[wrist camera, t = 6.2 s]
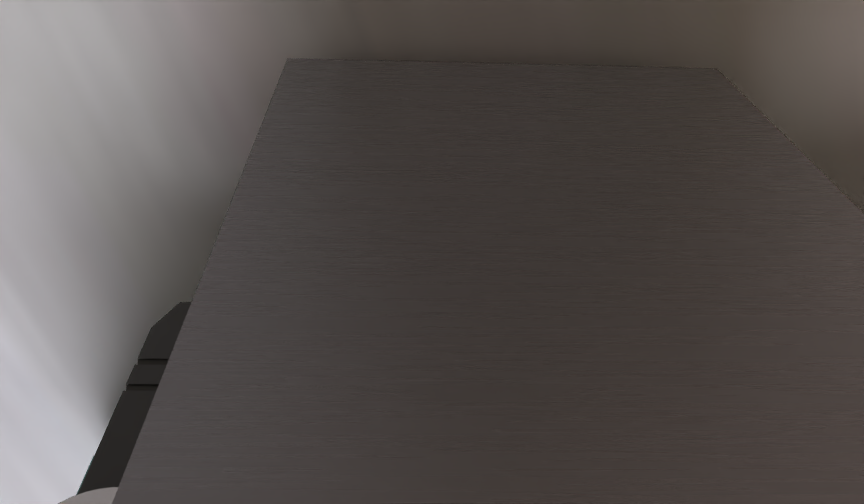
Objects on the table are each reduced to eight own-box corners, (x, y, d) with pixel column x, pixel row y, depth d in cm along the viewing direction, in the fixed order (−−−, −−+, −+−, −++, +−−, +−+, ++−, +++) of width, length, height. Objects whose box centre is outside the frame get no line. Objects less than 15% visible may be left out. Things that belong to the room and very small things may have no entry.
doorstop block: (716, 68, 10) (1350, 693, 3) (636, 412, 13) (877, 1088, 7) (286, 58, 10) (30, 706, 3) (310, 410, 13) (209, 1111, 6)
